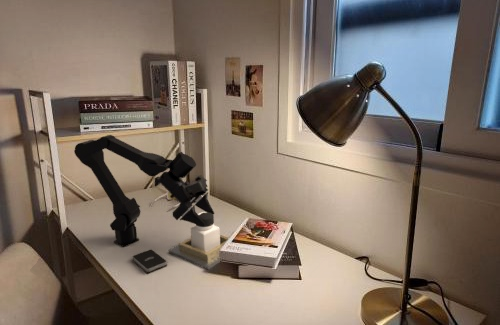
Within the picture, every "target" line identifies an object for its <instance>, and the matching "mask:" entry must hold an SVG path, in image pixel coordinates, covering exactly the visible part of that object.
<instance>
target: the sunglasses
mask: <svg viewBox="0 0 500 325" xmlns="http://www.w3.org/2000/svg"><path fill="white" fill-rule="evenodd" d="M171 195H172V194H171V193H170V192H169V191H167V192H165V193H163V194H162V195H160V196H158V197H156V199H154V200H152V202H151V204H150V207H149V208H151V207H152V206H153V204H154V203H155V202H156V201H158V200H159V199H160V198H162V197H165V196H166V199H167V200H177V199H176V198H175V197H173V198H171V197H170V196H171ZM180 204H181V203H180V202H178V203H177V204H175V205H173V206H172V207H170V208H169V209H167V210H165V213H167V212H170V211H171V210H172V209H174V208H175V209H176V208H177V207H178V206H179V205H180Z"/></svg>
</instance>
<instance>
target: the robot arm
mask: <svg viewBox="0 0 500 325" xmlns="http://www.w3.org/2000/svg"><path fill="white" fill-rule="evenodd" d="M103 150H108V151H109V152H111V153H112V154H115V155H117V156H120V157H122V158H123V159H125V160H128V161H129V162H132V163H133V164H135V165H137V167H138V168H139V170H140V171H142V172H143V173H144V174H145V175H147V176H148V177H154V187H158V186H159V185H161V186H162V187H163V188H165V190H167V192H170V193H171V194H172V195H171V196H170V197H171V198H173V197H175V198H176V199H175V200H176V201H177V202H178V203H181V204H179V205H178V206H177V207H175V209H174V210H173V212H172V217H173V218H174V219H175V220H176V221H178V220H179V221H183V222H188V223H191V224H195V225H196V224H197V225H200V226H202V227H204V226H205V223H204V222H203V220H202V219H201V218H200V217H199V215H198V214H199V213H197V212H196V207H197V208H198V209H200V210H202V211H203V212H209V213H212V214H213V215H214V216H215V211H214V210H213V208H212V205H211V204H210V202H209V199H208V194H209V189H208V184H207V181H208V180H207V179H206V178H205V177H203V176H202V175H198V176H196V177H195V178H194V181H193V182H189V181H188V180H186V181H185V182H184V181H183V179H184V178H186V177H187V176H188V175H189V174H190V173H191V172H192V171H193V170H194V169H195V168H196V166H197V163H196V161H195V159H194V158H193V157H192V156H189V155H188V154H186V153H184V152H183V151H180V152H178V153H177V154H176V156H175V157H174V158H173V159H167V158H165V157H164V156H162V155H159V154H157V153H153V152H146V151H144V150H143V151H142V150H140V149H139V148H137V147H134V146H132V145H130V144H129V143H127V142H125V141H123V140H120V139H119V138H117V137H116V136H114V135H111V134H107V135H105V136H101V137H100V138H98V139H89V140H86V141H82V142H78V143H77V144H76V145H75V147H74V150H73V151H74V155H75V157H77V159H78V160H79V161H80V163H81V164H83V165H84V166H86V167H88V168H89V169H90V170H91V171H92V173H93V174H94V176H95V178H96V179H97V181H98V182H99V185H100V186H101V187H102V189H103V191H104V192H105V194H106V195H107V197H108V199H109V200H110V202H111V203H112V210H113V211H112V212H113V213H112V214H113V215H114V218H115V219H114V220H113V221H112V222H111V223H110V224H109V227H110V230H112V231H114V235H115V236H114V237H115V240H113V243H114V244H116V245H117V246H121V247H124V248H125V247H128V246H130V245H131V244H134V243H137V242H138V241H140V238H139V237H138V233H137V232H138V231H137V226H136V222H137V220H138V218H140V215H141V209H140V208H141V206H140V205H139V204H138V202H137V200H136V199H135V198H134V197H132V198H129V197H128V196H126V194H125V193H124V191H123V189H122V188H121V187H120V184H119V183H118V181H117V180H116V178H115V176H114V175H113V173H112V171H111V170H110V169H109V167H108V165H107V164H106V162H105V154H104V151H103ZM167 170H168V171H167ZM159 174H161V175H160V176H158V175H159ZM193 204H194V205H193Z"/></svg>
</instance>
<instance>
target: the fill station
mask: <svg viewBox="0 0 500 325" xmlns="http://www.w3.org/2000/svg"><path fill="white" fill-rule="evenodd" d="M228 238H229V237H228V236H224V235H221V234H220V245H218V246H217V247H215V248H213V249H212V250H210V251H209V252H205V251H203V250H200V249H197V248H195V247H192V244H191V237H189V238H188V239H186V240H184V241H182V242H180V243H179V244H178V245H176V246H174V247H172V248H170V249H168V254H171V255H172V256H176V257H177V258H180V259H182V260H183V261H187V262H190V263H192V264H194V265H196V266H199V267H202V268H204V269H206V270H210V269H212V268H213V267H215V266H216V265H218V264H219V263H220V261H219V250H220V248H221V247H222V246H223V245H224V243H225V242H226V241H227V240H228Z"/></svg>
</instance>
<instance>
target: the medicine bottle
mask: <svg viewBox="0 0 500 325" xmlns="http://www.w3.org/2000/svg"><path fill="white" fill-rule="evenodd" d="M197 214H198V215H199V217H200V218H201V219H202V220H203V222H204V223H205V226H204V227H202V226H200V225H197V224H195V226H192V227H190V238H191V244H192V247H195V248H197V249H200V250H203V251H205V252H209V251H210V250H212V249H213V248H215V247H217V246H218V245H220V235H221V233H220V232H221V229H220V227H219V226H218V225H216V224H215V219H214V218H215V217H214V216H215V214H214V215H213V214H212V213H209V212H205V211H202V212H199V213H197Z"/></svg>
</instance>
